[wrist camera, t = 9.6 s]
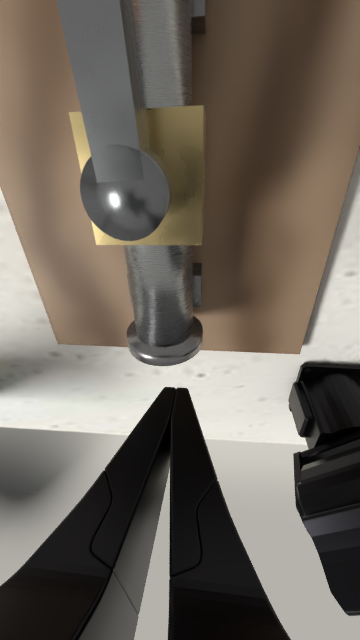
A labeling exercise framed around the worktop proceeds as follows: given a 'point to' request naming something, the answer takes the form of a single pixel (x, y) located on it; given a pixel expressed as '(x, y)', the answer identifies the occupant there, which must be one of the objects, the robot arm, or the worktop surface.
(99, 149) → the lever
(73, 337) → the mounting board
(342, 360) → the worktop surface
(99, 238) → the valve body
